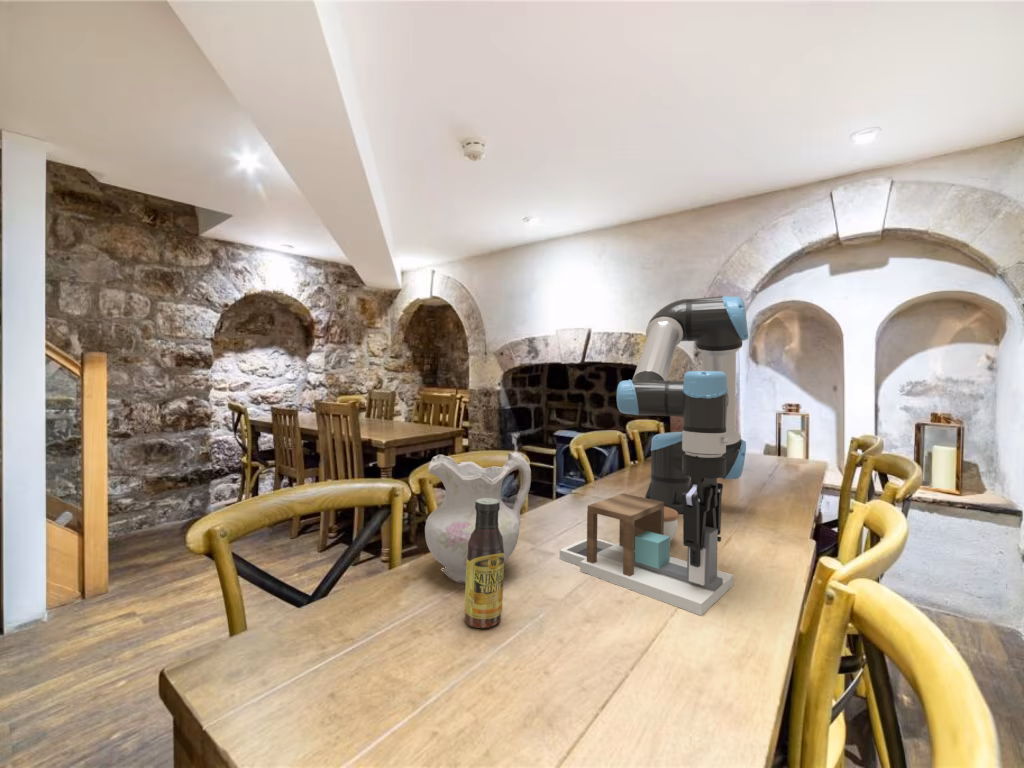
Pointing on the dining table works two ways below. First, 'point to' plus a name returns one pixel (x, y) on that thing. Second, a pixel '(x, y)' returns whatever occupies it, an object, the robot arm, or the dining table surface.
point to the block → (652, 549)
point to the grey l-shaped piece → (683, 572)
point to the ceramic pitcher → (471, 509)
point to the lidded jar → (670, 522)
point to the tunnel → (625, 524)
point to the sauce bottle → (485, 567)
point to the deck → (645, 577)
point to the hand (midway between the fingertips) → (702, 578)
